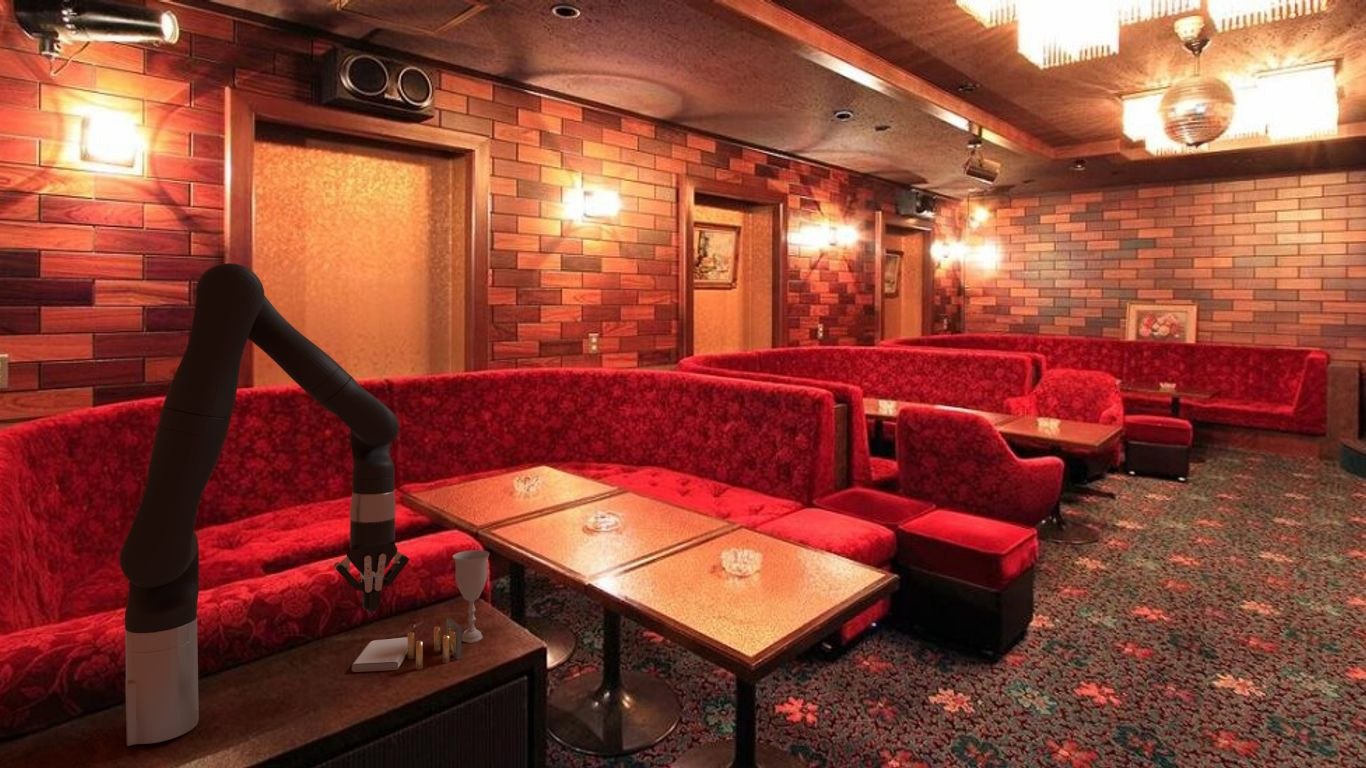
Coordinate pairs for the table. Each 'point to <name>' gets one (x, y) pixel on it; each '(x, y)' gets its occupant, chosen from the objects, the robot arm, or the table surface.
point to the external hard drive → (382, 655)
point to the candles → (438, 643)
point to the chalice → (471, 585)
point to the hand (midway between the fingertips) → (371, 610)
